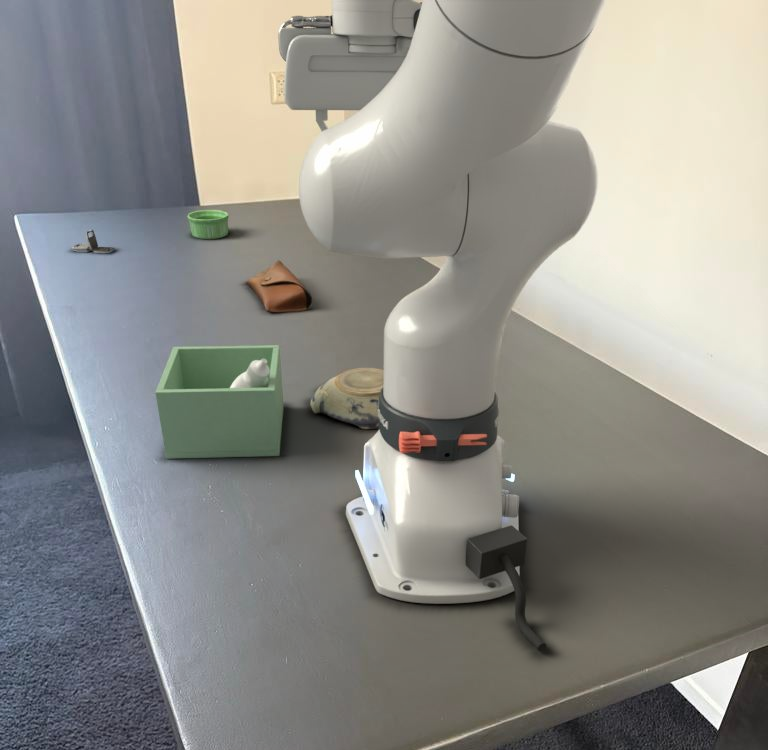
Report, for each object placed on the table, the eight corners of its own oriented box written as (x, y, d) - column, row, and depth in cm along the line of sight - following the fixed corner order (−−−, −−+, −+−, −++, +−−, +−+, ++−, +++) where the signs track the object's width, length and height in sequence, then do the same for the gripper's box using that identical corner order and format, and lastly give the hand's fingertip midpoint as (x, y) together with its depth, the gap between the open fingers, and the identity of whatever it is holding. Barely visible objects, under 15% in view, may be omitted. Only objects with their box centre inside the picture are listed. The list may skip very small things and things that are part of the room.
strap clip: (71, 251, 167) (66, 231, 164) (77, 247, 169) (73, 227, 167) (109, 254, 166) (105, 233, 163) (115, 249, 168) (111, 229, 166)
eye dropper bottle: (255, 432, 101) (291, 375, 93) (215, 435, 98) (248, 376, 89) (245, 404, 103) (279, 345, 94) (204, 406, 100) (236, 345, 91)
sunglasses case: (241, 280, 150) (256, 248, 148) (273, 295, 154) (289, 264, 152) (266, 312, 136) (283, 277, 134) (301, 327, 140) (318, 293, 138)
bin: (279, 456, 97) (274, 390, 92) (166, 458, 96) (155, 392, 91) (283, 406, 108) (279, 345, 103) (182, 408, 107) (173, 346, 102)
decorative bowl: (301, 387, 113) (323, 435, 101) (300, 363, 111) (322, 408, 99) (402, 377, 117) (435, 422, 104) (403, 354, 115) (436, 396, 102)
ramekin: (187, 231, 181) (185, 211, 179) (227, 228, 183) (225, 208, 181) (192, 241, 174) (189, 220, 172) (233, 238, 176) (231, 218, 174)
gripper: (275, 16, 85) (283, 156, 92) (466, 18, 86) (457, 156, 94) (278, 14, 90) (285, 147, 98) (457, 16, 91) (450, 147, 99)
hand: (371, 151), depth 96 cm, fingers open, 8 cm apart
